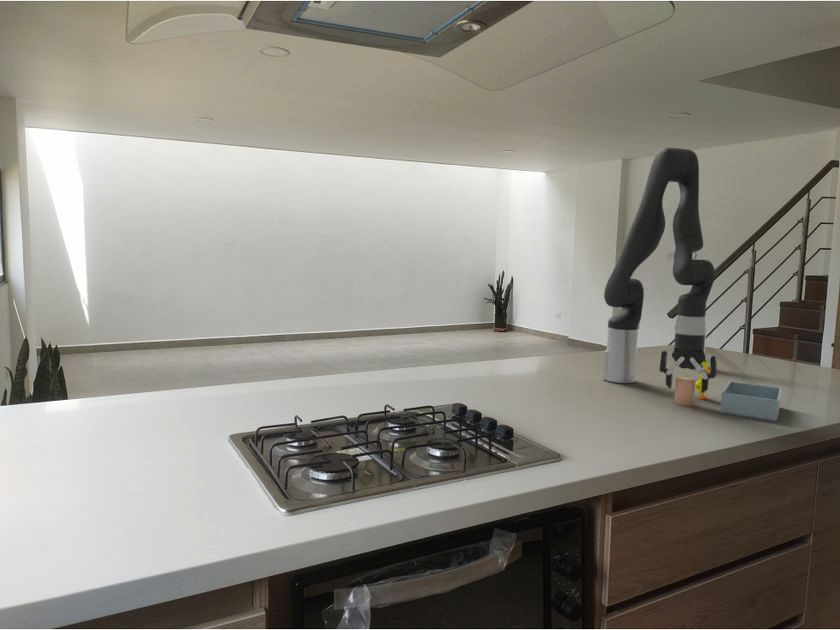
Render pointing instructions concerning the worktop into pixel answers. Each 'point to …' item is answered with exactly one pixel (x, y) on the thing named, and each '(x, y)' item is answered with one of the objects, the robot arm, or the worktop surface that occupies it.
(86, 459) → the worktop surface
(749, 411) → the tote
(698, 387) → the toy figure
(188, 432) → the worktop surface
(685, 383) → the brown egg
